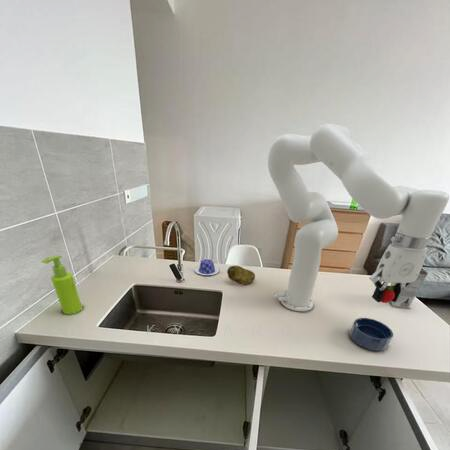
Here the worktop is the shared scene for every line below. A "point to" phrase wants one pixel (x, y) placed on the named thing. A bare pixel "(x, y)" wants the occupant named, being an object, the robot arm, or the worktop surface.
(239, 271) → the potato
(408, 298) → the coffee box
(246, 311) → the worktop surface
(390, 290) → the strawberry
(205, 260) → the pudding
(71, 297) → the soap dispenser
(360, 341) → the dessert bowl
